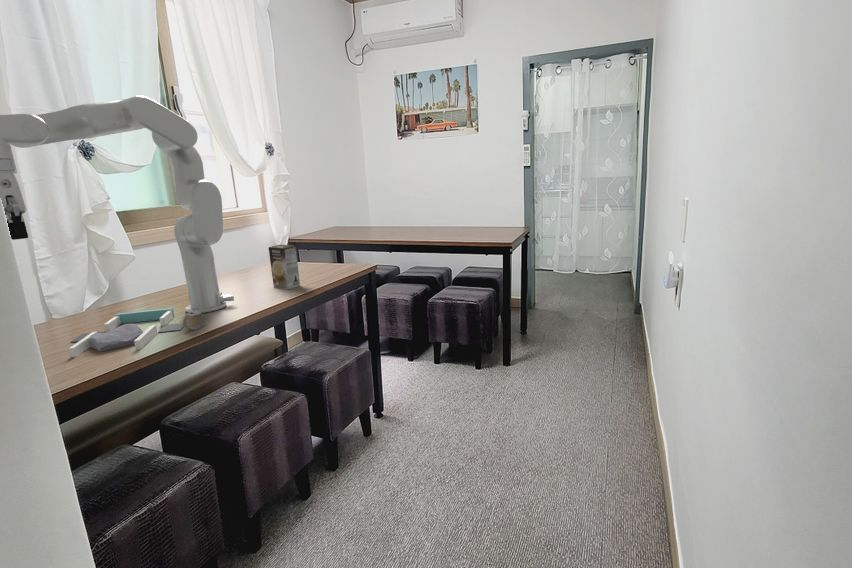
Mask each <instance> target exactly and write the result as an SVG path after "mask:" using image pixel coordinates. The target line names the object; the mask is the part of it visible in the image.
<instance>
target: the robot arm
mask: <svg viewBox="0 0 852 568" xmlns="http://www.w3.org/2000/svg"><path fill="white" fill-rule="evenodd" d="M142 129H146V130H148V131H150V132H151V137H152V141H153V142H154V144H155V145H156V147H158V148H159V149H160V150H162V151H163V152H164V153H165V154H166V155H167V156H168V157H169V158H170V160H171V162H172V165H173V169H174V171H173V173H174V185H175V186H174V187H175V199H176V202H177V204H178V205H179V207H180V208H182V209H184V210H188V211H191V213H192V214H185V215H182V216H180V217H179V218H178V219H177V220H176V221H175V224H174V227H173V233H174V237H175V240H176V242H177V246H178V248H179V249H178V250H179V252H180V257H181V261H182V267H183V273H184V278H185V283H186V290H187V294H188V301H189V304H188V305H187V306H186V307H185V311H186V313H190V312H194V311H198V312H200V313H202V314H203V313H210V312H214V311H218V310H221V309H223V308H225V307H226V306H227V302H234V301H235V296H234V295H232V294H226V295H224V294H223V291H220V288H219V287H220V286H219V281H218V275H217V268H216V264H215V263H216V262H215V257H214V252H213V249H212V247H211V246H212V245H215V244H216V243H218V242H219V241H220V240H221V238H222V235H223V232H224V220H223V219H224V217H223V216H224V215H223V214H224V213H223V199H222V195H221V192H220V190H219V188H218V186H217V185H216V184H215V183H213V182H212V181H209V180H205V171H204V163H203V159H202V157H201V155H200V153H199V151H198V150H197V148H196V147H195V145H196V144H197V142H198V132H197V130H196V127H195V126H194V125H193V124H192V123H191V122H190V121H188V120H187V119H185V118H184V117H182V116H180V115H179V114H177V113H176V112H174V111H172V110H171V109H169V108H167V107H166V106H164V105H163V104H160V103H159V102H157V101H156V100H154V99H151V98H150V97H148V96H145V95H135V96H131V97H128V98H125V99H124V98H123V99H117V100H116V99H115V100H110V101H101V102H93V103H85V104H84V103H83V104H78V105H74V106H70V107H66V108H65V109H61V110H57V111H52V112H47V113H41V114H31V113H11V114H0V198H1V200H2V204H3V207H4V211H5V215H6V218H7V223H8V227H9V231H10V235H11V237H10V239H11V240H14V241H16V240H23V239H28V238H29V234H28V231H27V226H26V223H25V219H24V217H23V215H24V214H26V213H27V207H26V205H25V200H24V197H23V195H22V191H21V187H20V185H19V182H18V179H17V177H16V175H15V174H18V170H17V165H16V161H15V158H14V154H13V151H12V146H14V147H15V148H21V149H23V148H24V149H27V148H32V147H36V146H37V147H38V146H43V145H49V144H56V143H60V142H67V141H75V140H85V139H86V140H87V139H92V138H99V137H104V136H111V135H115V134H116V135H117V134H120V133H121V134H122V133H127V132H132V131H133V132H134V131H139V130H142Z"/></svg>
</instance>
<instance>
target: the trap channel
mask: <svg viewBox="0 0 852 568" xmlns="http://www.w3.org/2000/svg"><path fill="white" fill-rule="evenodd" d="M174 318H175V314H174V308H173V307H170V308H160V309H150V310H149V309H148V310H140V311H131V312H121V313H116V314H114V317H112V318H111V319H109V320H108V321H106V322H105V323H103V327H104V330H103V331H92V332H89V333H82V334H79V335H78V336H76V338H73V340H71V341H70V344H71V343H73V345H71V346H70V347H69V348H68V351H69V354H70V358H77V357H78V356H80V355H81V354H82V353H83V352H85V351H86V350H87V349H89V348H91V347H90V345H89V338H90V336H91V335H93V334H95V333H106V332H109V331H111V330H113V329H114V328H117V327H119V326H121V324H132V323H137V322H139V323H140V322H147V321H148V322H149V321H155V320H159V323H160V326H161V328H160V329H159V331H158V329H157V325H156V324H153V325H150V326H149V327H147V329H145V331H143V333H142V334H141V335H140V336H139V337H138V338H137V339H136V340H134V343H135V344H134V348H135V350H136V351H137V350H142V349H144V347H145V346H146V345H147V344H148V343H149V342H150V341H151V340H152V339H153V338H154V337H155V336H156V335H158V334H163V333H171V332H180V331H181V330H182V329H183V328H185V327H184V326H183V322H177V323H170V322H171V321H172V320H173V319H174ZM186 325H188V324H187V321H186Z"/></svg>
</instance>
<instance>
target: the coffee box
mask: <svg viewBox="0 0 852 568" xmlns="http://www.w3.org/2000/svg"><path fill="white" fill-rule="evenodd" d="M267 248H268V254H269V260H270V261H269V262H270V269H271V276H272V277H271V278H272V284H273V288H278V289H284V290H290V289H294V288H297V287H300V286H301V282H300V281H301V280H300V274H299V273H300V271H299V264H298V263H299V261H298V256H297V253H298V252H297V247H296V245H289V244H288V245H287V244H277V245H273V246H269V247H267Z"/></svg>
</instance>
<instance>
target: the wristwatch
mask: <svg viewBox="0 0 852 568" xmlns="http://www.w3.org/2000/svg"><path fill="white" fill-rule="evenodd" d="M198 315H199V316H200V317H201V322H200V323H199V324H198V325H197V326H196V327H193V328H190V327H189V326H188V324H186V322H187V320H188V318H192V317H195V316H198ZM205 322H206V318H205V315H204V314H203V313H200V312H198V311H194V312H190V313H189V312H186V313H185V314H184V317H183V320H182V323H183V326H184V327H183V328H185V329H187V330H190V331H195V330H199V329H200V328H202V327H203V326H204V324H205Z"/></svg>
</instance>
